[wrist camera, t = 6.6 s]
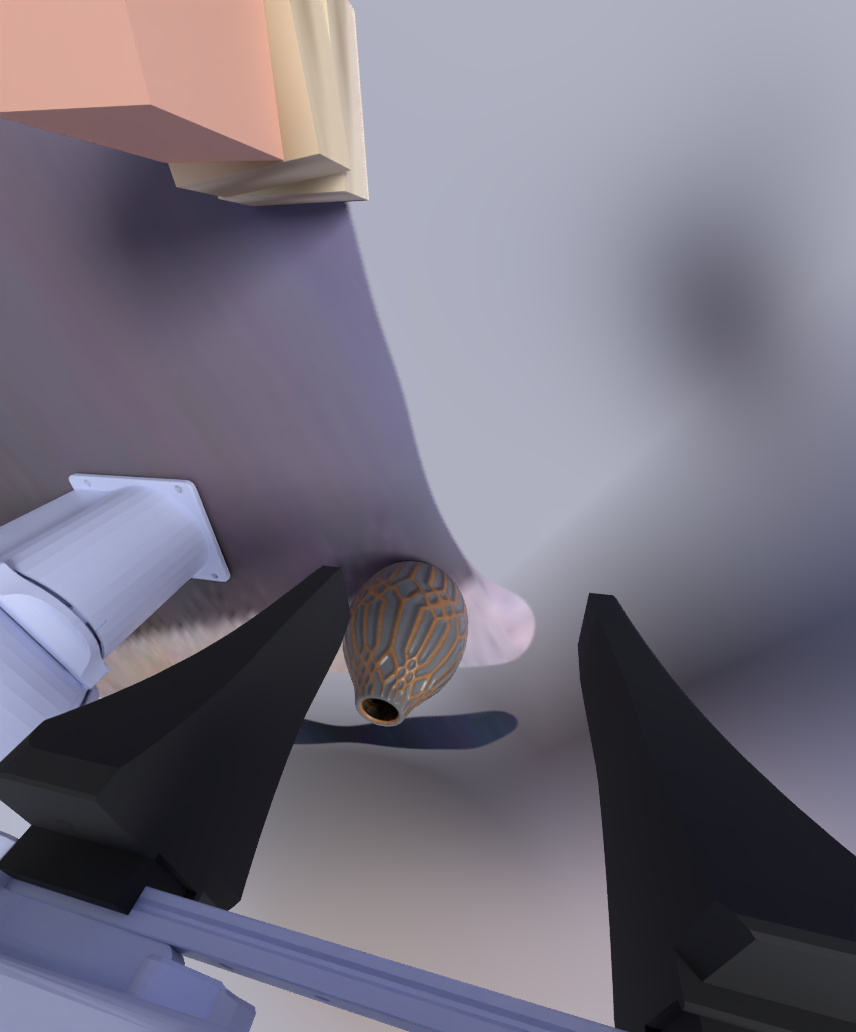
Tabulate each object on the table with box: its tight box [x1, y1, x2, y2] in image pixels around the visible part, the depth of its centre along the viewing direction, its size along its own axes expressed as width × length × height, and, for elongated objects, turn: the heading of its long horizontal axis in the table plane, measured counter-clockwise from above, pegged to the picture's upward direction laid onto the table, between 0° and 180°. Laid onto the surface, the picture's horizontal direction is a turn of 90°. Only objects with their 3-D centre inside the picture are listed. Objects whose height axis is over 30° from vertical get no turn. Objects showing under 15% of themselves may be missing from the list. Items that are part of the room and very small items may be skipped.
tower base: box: [218, 0, 369, 206], centre depth 14 cm, size 5×5×2 cm
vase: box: [343, 561, 468, 726], centre depth 22 cm, size 7×7×9 cm
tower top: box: [168, 0, 351, 198], centre depth 12 cm, size 5×5×2 cm
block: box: [0, 0, 284, 163], centre depth 9 cm, size 4×4×5 cm
